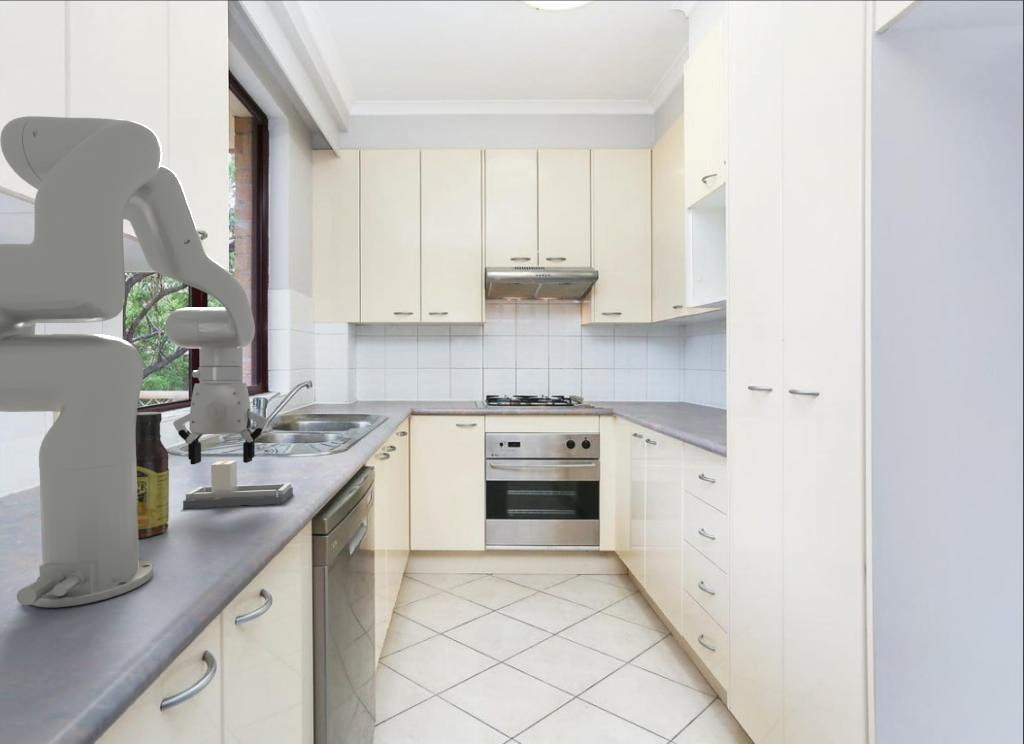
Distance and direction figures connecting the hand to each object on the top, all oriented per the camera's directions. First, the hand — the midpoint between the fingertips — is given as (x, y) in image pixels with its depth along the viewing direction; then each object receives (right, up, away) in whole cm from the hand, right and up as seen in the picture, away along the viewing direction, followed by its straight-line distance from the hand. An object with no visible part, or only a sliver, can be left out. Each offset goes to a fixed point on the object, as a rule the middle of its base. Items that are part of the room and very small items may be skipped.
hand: (222, 462), depth 106 cm
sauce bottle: (-2, -9, -18) cm, 21 cm away
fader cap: (0, -6, +1) cm, 6 cm away
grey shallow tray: (+3, -8, +2) cm, 9 cm away
